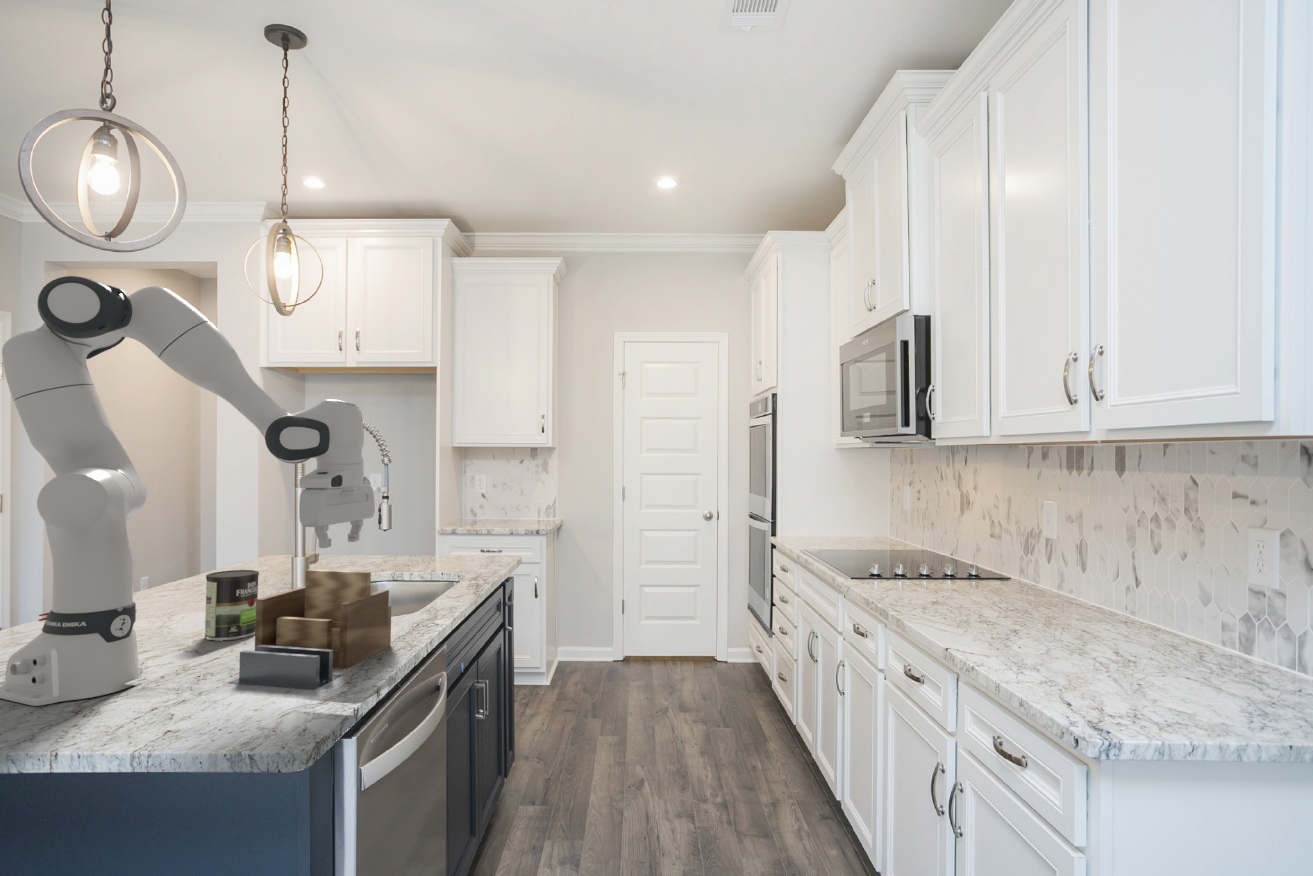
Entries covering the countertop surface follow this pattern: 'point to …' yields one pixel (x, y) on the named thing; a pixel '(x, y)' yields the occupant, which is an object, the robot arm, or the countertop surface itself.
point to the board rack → (359, 623)
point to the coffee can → (231, 604)
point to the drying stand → (286, 667)
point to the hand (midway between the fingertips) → (339, 544)
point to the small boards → (308, 632)
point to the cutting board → (333, 591)
